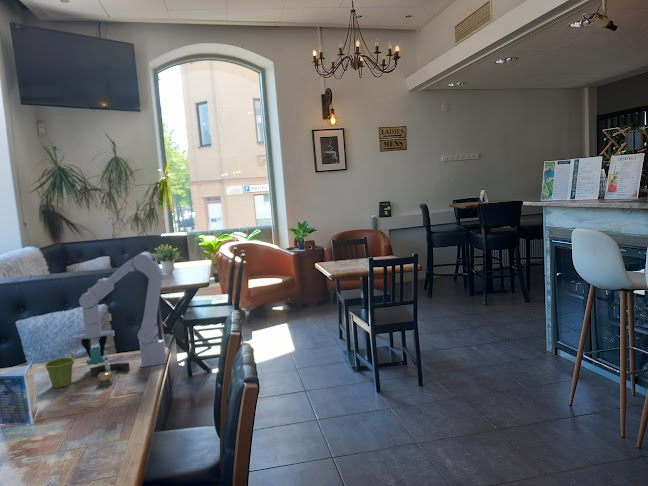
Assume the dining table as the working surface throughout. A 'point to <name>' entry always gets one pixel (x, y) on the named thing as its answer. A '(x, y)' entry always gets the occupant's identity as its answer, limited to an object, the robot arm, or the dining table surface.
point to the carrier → (108, 372)
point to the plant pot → (60, 371)
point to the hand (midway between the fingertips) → (96, 356)
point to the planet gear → (96, 356)
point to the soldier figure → (72, 354)
